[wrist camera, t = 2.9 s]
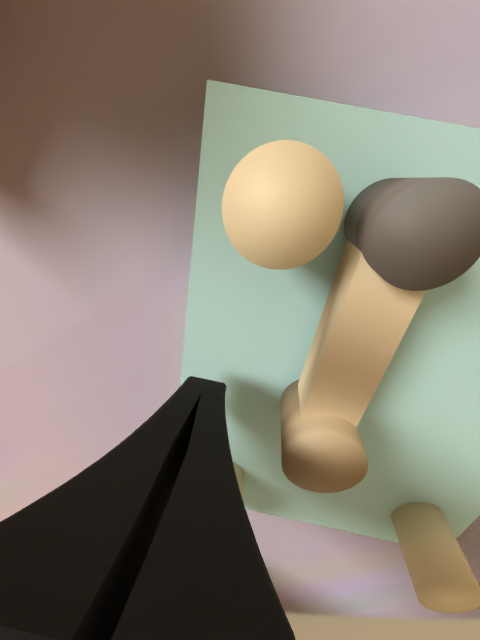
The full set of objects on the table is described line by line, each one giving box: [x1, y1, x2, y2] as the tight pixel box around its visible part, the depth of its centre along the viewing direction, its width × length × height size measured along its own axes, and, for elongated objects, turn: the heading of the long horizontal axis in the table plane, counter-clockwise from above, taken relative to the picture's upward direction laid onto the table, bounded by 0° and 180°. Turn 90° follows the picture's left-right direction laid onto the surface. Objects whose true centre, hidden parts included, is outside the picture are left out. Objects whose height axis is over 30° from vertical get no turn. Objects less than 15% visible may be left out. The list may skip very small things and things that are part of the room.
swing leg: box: [280, 177, 480, 493], centre depth 8 cm, size 9×3×3 cm, turn 170°
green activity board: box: [180, 79, 480, 613], centre depth 10 cm, size 18×15×4 cm
